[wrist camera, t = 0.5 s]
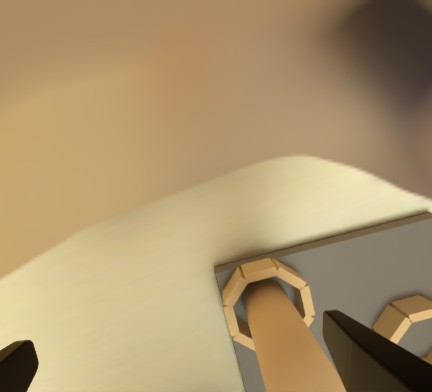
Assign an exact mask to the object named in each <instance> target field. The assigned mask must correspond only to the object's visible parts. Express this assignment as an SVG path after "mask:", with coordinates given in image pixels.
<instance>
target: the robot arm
mask: <svg viewBox="0 0 432 392" xmlns="http://www.w3.org/2000/svg"><path fill="white" fill-rule="evenodd" d="M322 334H323V339H324V342H325V344H326V346H327V349H328V351H329V353H330V355H331V358H332V360H333V362H334V365H335V367H336V369H337V372H338V374H339V376H340V378H341V381H342V383H343V385H344V388H345V390H346V392H432V364H430V363H428V362H426V361H425V360H423V359H421V358H420V357H418V356H416V355H414V354H413V353H411V352H409V351H408V350H406V349H404V348H402V347H401V346H399V345H397V344H396V343H394V342H392V341H390V340H389V339H387V338H385V337H384V336H382V335H380V334H379V333H377V332H375V331H373V330H372V329H370V328H368V327H367V326H365V325H363V324H361V323H360V322H358V321H356V320H355V319H353V318H351V317H349V316H348V315H346V314H344V313H343V312H341V311H339V310H336V309H334V310H325V311H324V312H323V328H322ZM38 365H39V362H38V358H37V354H36V351H35V347H34V344H33V342H32V341H31V340H22V341H16V342H14V343H12V344H10V345H8V346H7V347H5V348H4V349H2V350H0V392H27V390H28V388H29V386H30V384H31V382H32V380H33V378H34V376H35V374H36V372H37V369H38Z"/></svg>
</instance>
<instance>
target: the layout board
mask: <svg viewBox="0 0 432 392" xmlns="http://www.w3.org/2000/svg"><path fill="white" fill-rule="evenodd" d="M215 275H216V279H217V283H218V287H219V291H220V294H221V298H222V302H223V309H224V312H225V316H226V320H227V324H228V328H229V331H230V335H231V336H232V340H233V344H234V348H235V351H236V355H237V359H238V363H239V367H240V370H241V374H242V378H243V382H244V386H245V390H246V392H346V390H345V388H344V385H343V383H342V381H341V378H340V376H339V374H338V372H337V369H336V367H335V365H334V362H333V360H332V358H331V355H330V353H329V351H328V349H327V346H326V344H325V342H324V339H323V334H322V328H323V312H324V311H325V310H334V309H336V310H339V311H341V312H343V313H344V314H346V315H348V316H349V317H351V318H353V319H355V320H356V321H358V322H360V323H361V324H363V325H365V326H367V327H368V328H370V329H372V330H373V331H375V332H377V333H379V334H380V335H382V336H384V337H385V338H387V339H389V340H390V341H392V342H394V343H396V344H397V345H399V346H401V347H402V348H404V349H406V350H408V351H409V352H411V353H413V354H414V355H416V356H418V357H420V358H421V359H423V360H425V361H426V362H428V363H430V364H432V213H430V212H428V213H424V214H420V215H416V216H412V217H408V218H404V219H400V220H396V221H392V222H388V223H385V224H381V225H377V226H373V227H369V228H365V229H361V230H357V231H353V232H349V233H345V234H341V235H338V236H334V237H330V238H326V239H322V240H318V241H314V242H310V243H306V244H302V245H298V246H295V247H291V248H287V249H283V250H279V251H275V252H271V253H267V254H263V255H259V256H255V257H251V258H248V259H244V260H240V261H236V262H232V263H228V264H224V265H220V266H216V267H215Z"/></svg>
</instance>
